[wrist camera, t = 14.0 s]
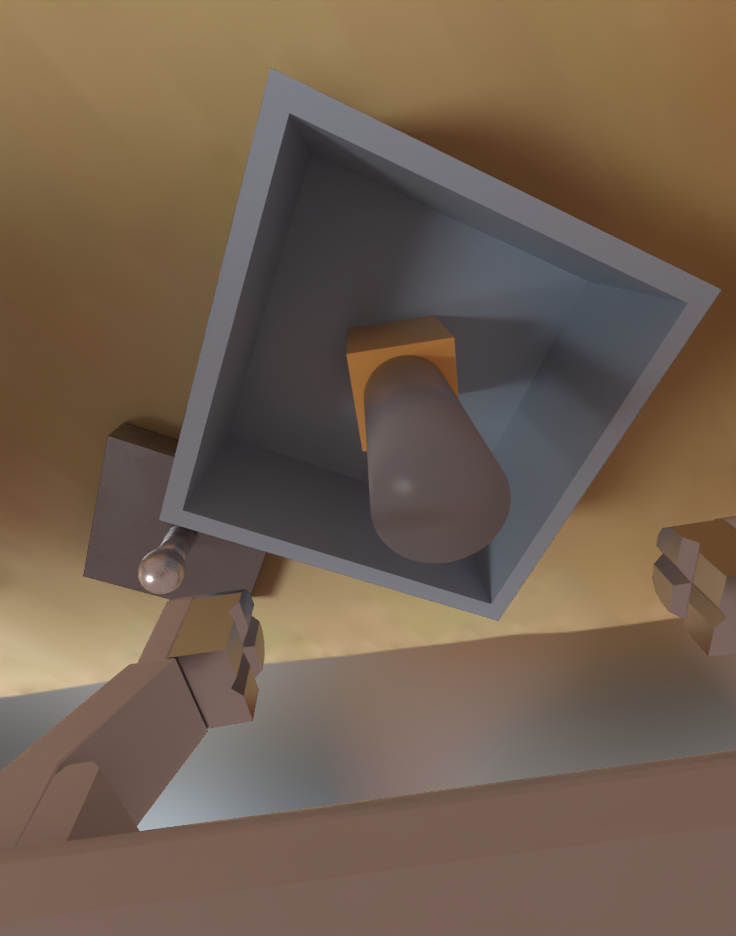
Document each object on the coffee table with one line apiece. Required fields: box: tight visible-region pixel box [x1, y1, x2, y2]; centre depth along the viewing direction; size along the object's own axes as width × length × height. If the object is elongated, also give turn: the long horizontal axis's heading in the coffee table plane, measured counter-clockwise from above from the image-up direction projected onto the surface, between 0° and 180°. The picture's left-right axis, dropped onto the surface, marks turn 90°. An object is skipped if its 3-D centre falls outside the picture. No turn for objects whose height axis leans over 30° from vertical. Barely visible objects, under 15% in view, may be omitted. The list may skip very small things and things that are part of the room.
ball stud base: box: [83, 423, 266, 600], centre depth 28 cm, size 10×10×6 cm
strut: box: [346, 315, 511, 564], centre depth 19 cm, size 4×4×15 cm
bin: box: [159, 68, 722, 621], centre depth 22 cm, size 16×16×9 cm
